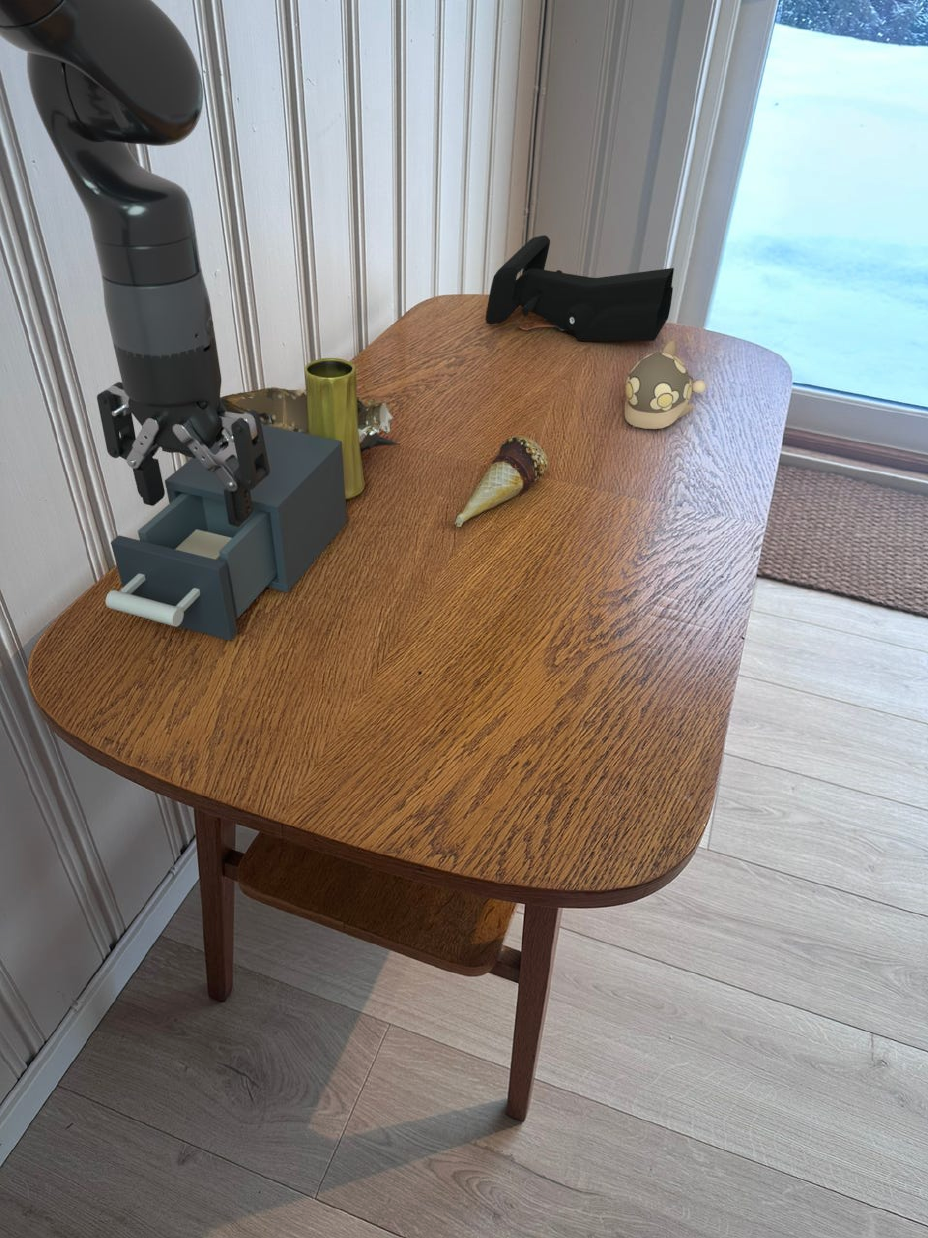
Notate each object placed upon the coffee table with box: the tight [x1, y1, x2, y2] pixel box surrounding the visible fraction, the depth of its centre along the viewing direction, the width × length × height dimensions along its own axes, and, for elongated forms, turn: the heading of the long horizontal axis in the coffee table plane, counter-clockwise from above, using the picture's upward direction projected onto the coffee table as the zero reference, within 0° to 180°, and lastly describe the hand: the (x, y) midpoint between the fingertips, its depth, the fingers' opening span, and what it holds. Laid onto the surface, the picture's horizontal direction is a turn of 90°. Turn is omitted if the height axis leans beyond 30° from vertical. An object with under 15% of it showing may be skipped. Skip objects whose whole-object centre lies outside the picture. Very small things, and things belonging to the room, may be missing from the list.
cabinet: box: [164, 425, 348, 593], centre depth 88 cm, size 13×12×10 cm
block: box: [175, 529, 232, 561], centre depth 81 cm, size 4×4×4 cm
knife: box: [518, 320, 565, 332], centre depth 140 cm, size 13×1×3 cm
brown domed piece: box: [624, 338, 707, 430], centre depth 116 cm, size 10×11×15 cm
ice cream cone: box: [454, 434, 549, 528], centre depth 98 cm, size 6×6×15 cm
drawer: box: [105, 493, 277, 642], centre depth 79 cm, size 16×11×8 cm, turn 160°
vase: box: [304, 357, 366, 501], centre depth 95 cm, size 6×6×14 cm
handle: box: [485, 234, 675, 342], centre depth 135 cm, size 17×27×15 cm, turn 67°
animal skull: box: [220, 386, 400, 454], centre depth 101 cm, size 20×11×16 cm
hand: (197, 511), depth 77 cm, fingers open, 8 cm apart
